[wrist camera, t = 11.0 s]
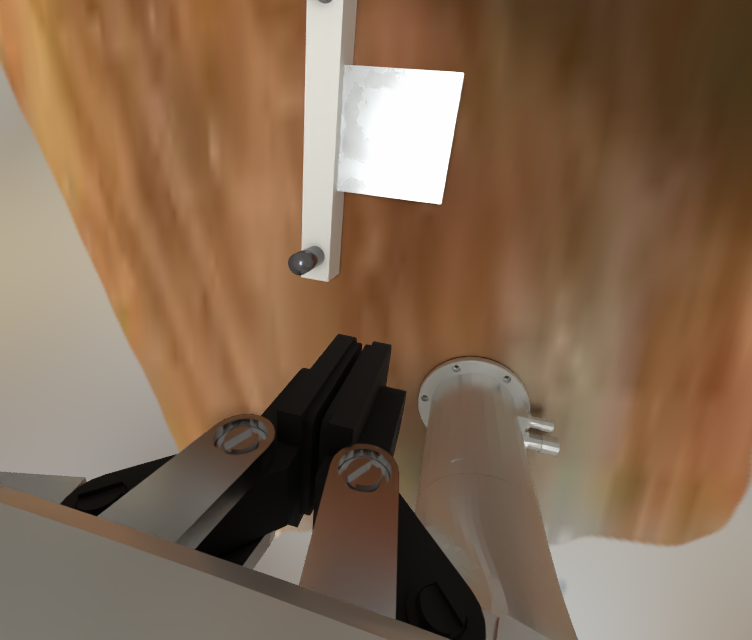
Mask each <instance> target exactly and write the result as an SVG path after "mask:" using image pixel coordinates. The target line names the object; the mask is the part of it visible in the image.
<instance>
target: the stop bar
mask: <svg viewBox="0 0 752 640" xmlns="http://www.w3.org/2000/svg"><path fill="white" fill-rule="evenodd" d="M356 11H357V0H307V20H306V67H305V115H304V162H303V210H302V251H300V252H297V253H295V254H293V255H292V256H291V257H290V258H289V261H288V265H289V268H290V270H291V271H292V272H293V273H294V274H296V275H301V277H304V278H309V279H315V280H321V281H326V282H329V281H330V280H331V279H332V278H334V277H335V276H336V275H338V274H339V267H340V252H341V236H342V221H343V206H344V192H343V191H337V175H338V158H339V141H340V124H341V107H342V90H343V73H344V65H353V56H354V41H355V26H356Z"/></svg>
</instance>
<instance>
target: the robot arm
mask: <svg viewBox="0 0 752 640" xmlns="http://www.w3.org/2000/svg"><path fill="white" fill-rule="evenodd" d="M361 351H362V352H361ZM390 355H391V345H389V344H384V343H380V342H375V341H374V342H373V343H372V345H367V344H366V345H365V347H364V349H363V350H362V344H361V343H357V339H356V337H351V336H346V335H341V334H338V335H337V336H336V338H335V339H334V340H333V341H332V342H331V344H330V345H329V346H328V347H327V349H326V350H325V351H324V352H323V354H322V355H321V356H320V357H319V359H318V360H317V361H316V362H315V364H314V365H313V366H312V367H311V368H310V369H307V368H302V369H301V370H300V371H299V372H298V373H297V374H296V375H295V377H294V378H293V379H292V380H291V381H290V382H289V384H288V385H287V386H286V387H285V388H284V389H283V391H282V392H281V393H280V394H279V395H278V396H277V398H276V399H275V400H274V401H273V402H272V404H271V405H270V406H269V407H268V408H267V409H266V411H265V412H264V413H263V414H262V415H261V416H258V415H254V414H242V415H236V416H232V417H229V418H227V419H224V420H222V421H221V422H219V423H217V424H216V425H215V426H213V427H212V428H211V429H209V430H208V431H207V432H205V433H204V434H203V435H202V436H200V437H199V438H198V439H196V440H195V441H194V442H193V443H191V444H190V445H189V446H187V447H186V448H185V449H183V450H182V451H181V452H180V453H178V454H176V455H172V456H169V457H165V458H162V459H158V460H155V461H151V462H147V463H144V464H140V465H137V466H133V467H130V468H127V469H123V470H119V471H116V472H112V473H109V474H105V475H103V476H100V477H98V478H95V479H92V480H90V481H88V482H86V479H85V478H84V477H70V476H55V475H40V474H25V473H11V472H0V640H578V638H577V636H576V633H575V631H574V628H573V625H572V622H571V619H570V617H569V613H568V611H567V608H566V605H565V602H564V599H563V596H562V592H561V589H560V586H559V582H558V579H557V575H556V571H555V568H554V564H553V561H552V557H551V553H550V549H549V545H548V541H547V537H546V533H545V529H544V525H543V520H542V516H541V512H540V508H539V503H538V499H537V495H536V491H535V486H534V482H533V478H532V474H531V469H530V465H529V461H528V457H527V452H526V450H527V449H531V450H535V451H538V452H539V453H543V454H548V455H552V456H557V455H558V453H559V449H560V443H559V440H558V438H554V437H550V436H545V435H541V434H540V435H538V434H533V433H529V430H528V429H529V428H535V429H538V430H541V431H545V432H549V433H552V432H553V429H554V421H553V420H551V419H547V418H542V417H540V418H539V417H535V416H531V413H530V401H529V397H528V394H527V391H526V389H525V387H524V385H523V383H522V382H521V380H520V379H519V378H518V376H517V375H515V374H514V373H513V372H512V371H511V370H510V369H508V368H507V367H505V366H503V365H502V364H500V363H497V362H495V361H492V360H490V359H485V358H480V357H463V358H456V359H453V360H449V361H446V362H444V363H443V364H441V365H439V366H437V367H436V368H435V369H433V370H432V371H431V372H430V373H429V374H428V375H427V377H426V378H425V379H424V381H423V383H422V385H421V387H420V391H419V396H418V411H419V414H420V417H421V420H422V421H423V423H424V425H425V427H426V428H427V433H426V440H425V447H424V454H423V461H422V468H421V475H420V482H419V489H418V496H417V503H416V511H415V513H414V512H413V511H412V509H411V508H410V507H409V505H408V504H407V503H406V501H405V500H404V499H403V497H402V496H401V494H400V493H399V471H398V465H397V463H396V462H395V460H394V458H393V455H394V451H395V447H396V443H397V439H398V434H399V430H400V425H401V420H402V415H403V409H404V404H405V398H406V391H403V390H399V389H394V388H390V387H386V382H387V375H388V368H389V361H390ZM455 365H457V367H456V366H455ZM505 376H507V377H505ZM313 509H314V514H313V532H312V537H311V541H310V545H309V548H308V552H307V556H306V560H305V564H304V567H303V571H302V575H301V579H300V583H299V586H298V585H295V584H292V583H289V582H287V581H284V580H281V579H278V578H275V577H272V576H269V575H267V574H264V573H261V572H258V571H255V570H253V568H254V567H255V565H256V564H257V563H258V561H259V560H260V558H261V557H262V556H263V554H264V553H265V551H266V550H267V548H268V547H269V546H270V544H271V542H272V540H273V538H274V536H275V530H278V529H280V528H282V527H284V526H287V524H288V525H291V526H295V527H298V525H299V523H300V521H301V519H302V517H303V515H304V514H306V515H311V513H312V511H313Z"/></svg>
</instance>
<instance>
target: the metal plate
mask: <svg viewBox="0 0 752 640" xmlns="http://www.w3.org/2000/svg"><path fill="white" fill-rule="evenodd" d="M463 84H464V73H461V72H446V71H431V70H416V69H401V68H386V67H371V66H356V65H344V73H343V90H342V107H341V124H340V141H339V158H338V175H337V191H343V192H351V193H358V194H366V195H374V196H381V197H389V198H396V199H404V200H411V201H419V202H427V203H434V204H442V202H443V197H444V191H445V186H446V180H447V174H448V169H449V163H450V157H451V152H452V146H453V140H454V135H455V129H456V123H457V118H458V112H459V106H460V101H461V95H462V89H463Z"/></svg>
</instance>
